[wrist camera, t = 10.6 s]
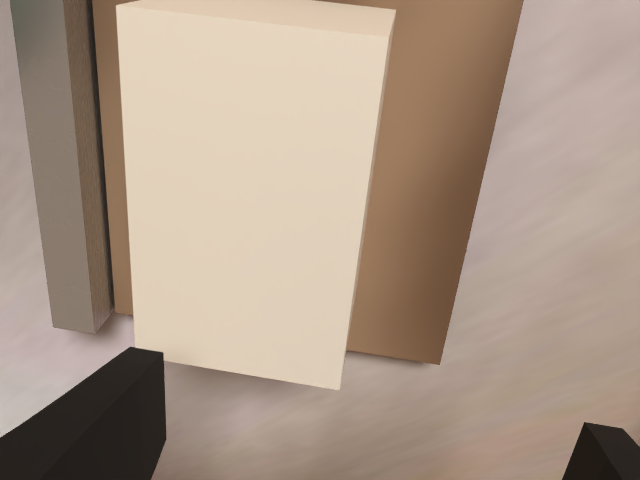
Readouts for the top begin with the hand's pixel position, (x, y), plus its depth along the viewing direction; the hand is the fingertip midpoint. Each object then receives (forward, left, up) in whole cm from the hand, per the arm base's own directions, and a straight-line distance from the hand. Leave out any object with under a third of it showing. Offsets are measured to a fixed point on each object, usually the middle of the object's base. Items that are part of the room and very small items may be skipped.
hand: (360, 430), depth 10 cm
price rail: (+9, -2, -9) cm, 13 cm away
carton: (+3, -2, -8) cm, 9 cm away
